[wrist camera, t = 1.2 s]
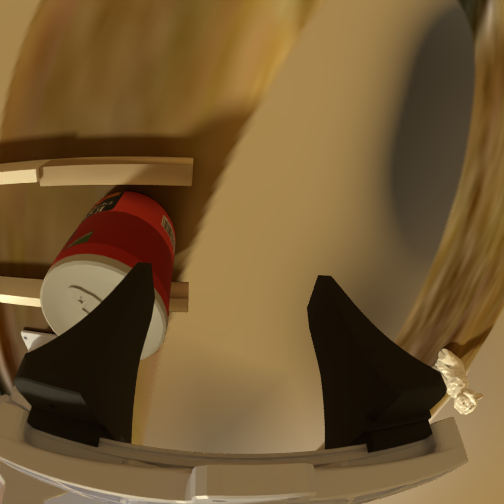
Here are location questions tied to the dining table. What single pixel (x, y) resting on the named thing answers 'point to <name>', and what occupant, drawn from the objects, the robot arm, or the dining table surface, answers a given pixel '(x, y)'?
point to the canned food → (112, 262)
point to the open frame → (13, 287)
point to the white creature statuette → (456, 382)
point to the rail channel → (124, 173)
